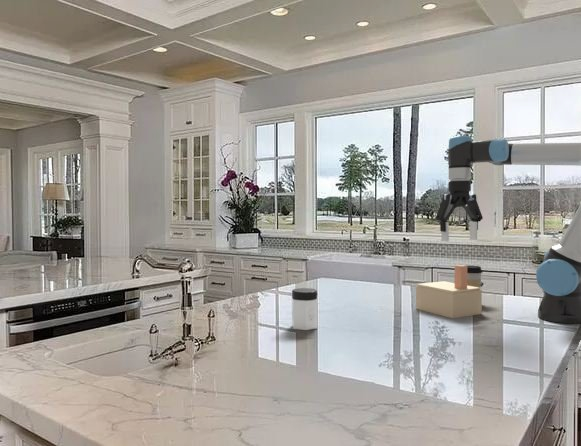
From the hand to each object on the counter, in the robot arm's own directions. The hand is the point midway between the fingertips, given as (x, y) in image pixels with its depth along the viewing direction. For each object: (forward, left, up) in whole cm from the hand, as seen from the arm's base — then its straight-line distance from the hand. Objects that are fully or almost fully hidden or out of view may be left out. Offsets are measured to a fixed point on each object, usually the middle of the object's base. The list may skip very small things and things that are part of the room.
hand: (459, 240), depth 174 cm
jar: (+11, +57, -27) cm, 64 cm away
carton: (+4, +1, -27) cm, 27 cm away
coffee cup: (+11, -18, -27) cm, 34 cm away
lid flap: (+5, +1, -18) cm, 18 cm away
